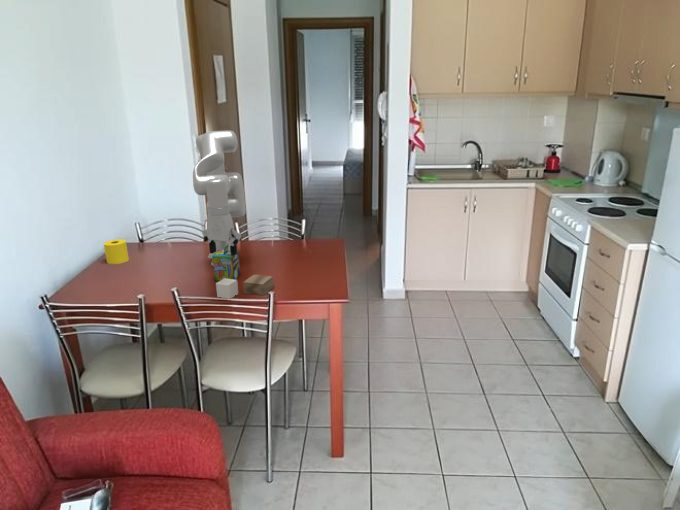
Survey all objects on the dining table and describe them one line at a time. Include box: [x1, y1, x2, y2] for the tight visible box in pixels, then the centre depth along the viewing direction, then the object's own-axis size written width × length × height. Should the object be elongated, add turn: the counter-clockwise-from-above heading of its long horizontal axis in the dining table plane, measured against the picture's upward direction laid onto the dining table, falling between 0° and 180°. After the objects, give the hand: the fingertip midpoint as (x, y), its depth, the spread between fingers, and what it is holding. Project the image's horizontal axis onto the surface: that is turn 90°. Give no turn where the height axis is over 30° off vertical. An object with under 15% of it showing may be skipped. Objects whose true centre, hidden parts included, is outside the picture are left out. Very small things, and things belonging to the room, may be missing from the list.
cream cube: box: [215, 278, 239, 299], centre depth 211 cm, size 6×6×6 cm
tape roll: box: [103, 238, 130, 265], centre depth 257 cm, size 10×10×9 cm
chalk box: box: [211, 245, 241, 282], centre depth 229 cm, size 9×9×15 cm
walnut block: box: [242, 274, 275, 296], centre depth 215 cm, size 9×9×5 cm
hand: (223, 253), depth 206 cm, fingers open, 9 cm apart
